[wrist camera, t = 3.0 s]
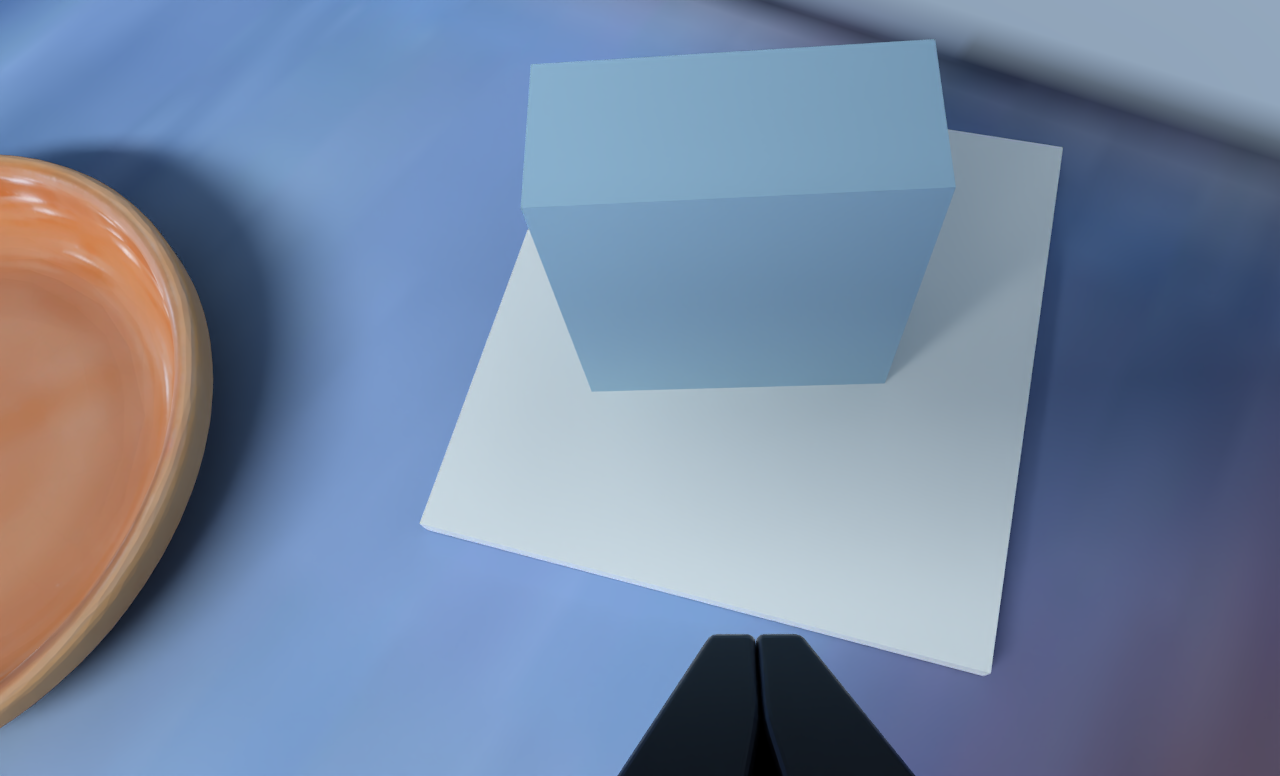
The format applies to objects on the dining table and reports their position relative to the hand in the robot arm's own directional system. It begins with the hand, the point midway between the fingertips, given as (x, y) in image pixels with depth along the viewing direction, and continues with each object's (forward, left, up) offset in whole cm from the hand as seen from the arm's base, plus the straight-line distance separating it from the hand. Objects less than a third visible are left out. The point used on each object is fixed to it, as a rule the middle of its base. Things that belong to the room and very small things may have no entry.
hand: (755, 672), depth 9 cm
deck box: (+9, +2, -12) cm, 15 cm away
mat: (+9, +2, -12) cm, 16 cm away
